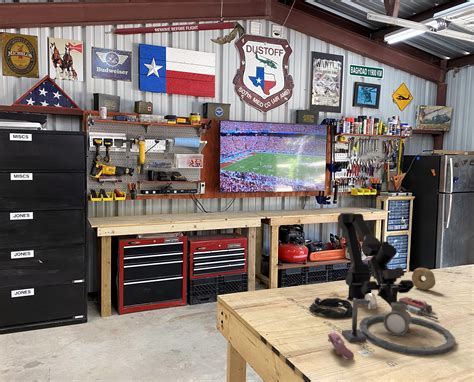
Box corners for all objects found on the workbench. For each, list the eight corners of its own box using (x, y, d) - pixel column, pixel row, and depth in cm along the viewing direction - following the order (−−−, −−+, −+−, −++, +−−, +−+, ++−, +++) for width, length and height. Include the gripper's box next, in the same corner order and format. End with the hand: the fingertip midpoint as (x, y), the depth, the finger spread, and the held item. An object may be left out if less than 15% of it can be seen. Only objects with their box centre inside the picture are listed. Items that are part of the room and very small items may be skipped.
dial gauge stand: (349, 342, 137) (351, 297, 136) (341, 334, 143) (343, 291, 142) (375, 340, 139) (377, 296, 138) (366, 333, 145) (368, 290, 144)
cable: (358, 312, 165) (359, 302, 165) (344, 323, 154) (345, 312, 153) (319, 303, 175) (319, 292, 175) (303, 312, 164) (303, 301, 164)
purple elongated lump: (332, 350, 135) (323, 331, 134) (344, 343, 135) (335, 325, 134) (342, 365, 125) (333, 345, 124) (356, 358, 125) (346, 338, 124)
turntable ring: (349, 339, 139) (349, 335, 139) (371, 312, 165) (372, 308, 165) (449, 364, 124) (449, 359, 123) (457, 330, 149) (457, 325, 149)
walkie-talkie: (391, 306, 173) (435, 323, 156) (392, 295, 173) (436, 311, 156) (405, 302, 178) (450, 318, 161) (406, 292, 178) (450, 307, 160)
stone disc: (409, 287, 198) (410, 266, 197) (412, 285, 201) (414, 265, 200) (432, 292, 191) (434, 271, 190) (435, 290, 194) (436, 269, 193)
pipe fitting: (407, 338, 140) (407, 307, 141) (383, 333, 145) (383, 303, 145) (416, 330, 150) (416, 302, 150) (392, 326, 154) (393, 298, 155)
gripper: (366, 260, 153) (380, 299, 143) (412, 258, 156) (429, 297, 146) (355, 275, 161) (368, 313, 151) (399, 273, 164) (415, 311, 154)
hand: (395, 308), depth 150 cm, fingers closed
